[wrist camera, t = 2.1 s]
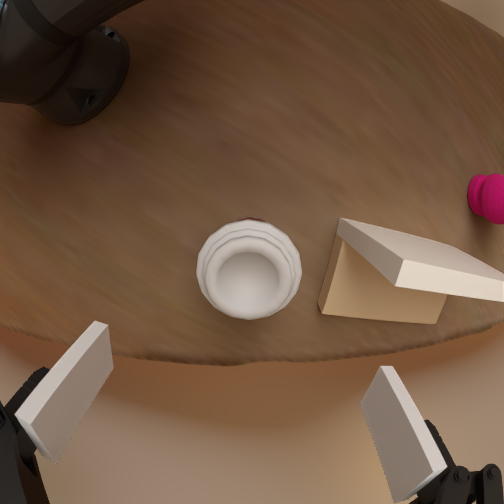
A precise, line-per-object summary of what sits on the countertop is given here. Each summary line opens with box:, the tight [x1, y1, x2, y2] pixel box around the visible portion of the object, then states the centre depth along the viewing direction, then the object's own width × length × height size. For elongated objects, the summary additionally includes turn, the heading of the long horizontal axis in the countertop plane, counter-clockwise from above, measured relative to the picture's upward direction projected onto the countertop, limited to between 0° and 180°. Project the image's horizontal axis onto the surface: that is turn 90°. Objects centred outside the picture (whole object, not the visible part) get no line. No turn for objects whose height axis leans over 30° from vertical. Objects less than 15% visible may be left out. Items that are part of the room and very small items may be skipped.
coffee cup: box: [196, 216, 302, 320], centre depth 28 cm, size 9×9×12 cm
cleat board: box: [318, 218, 504, 324], centre depth 27 cm, size 12×19×16 cm, turn 80°
